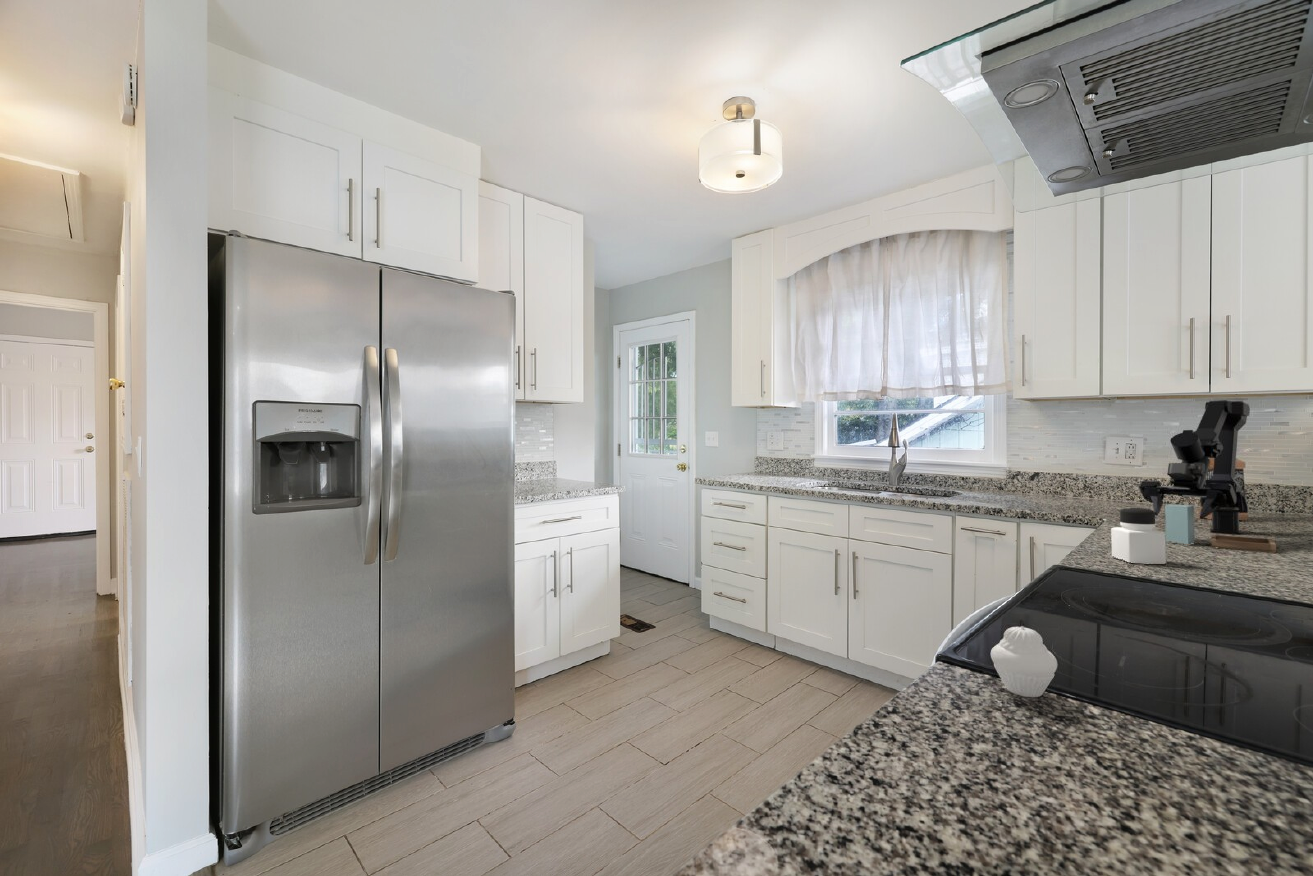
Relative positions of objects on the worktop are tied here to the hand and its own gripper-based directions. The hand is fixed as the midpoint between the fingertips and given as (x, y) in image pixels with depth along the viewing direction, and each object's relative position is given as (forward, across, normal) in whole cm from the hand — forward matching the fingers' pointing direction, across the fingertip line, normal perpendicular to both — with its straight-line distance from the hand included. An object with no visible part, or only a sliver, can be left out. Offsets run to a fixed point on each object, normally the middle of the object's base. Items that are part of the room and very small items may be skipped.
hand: (1177, 516), depth 152 cm
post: (+4, 0, +6) cm, 7 cm away
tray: (+1, +11, +10) cm, 14 cm away
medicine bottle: (+31, +4, -20) cm, 37 cm away
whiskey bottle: (-47, -10, +58) cm, 75 cm away
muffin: (+97, +26, -86) cm, 132 cm away
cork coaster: (-10, +5, +20) cm, 23 cm away
